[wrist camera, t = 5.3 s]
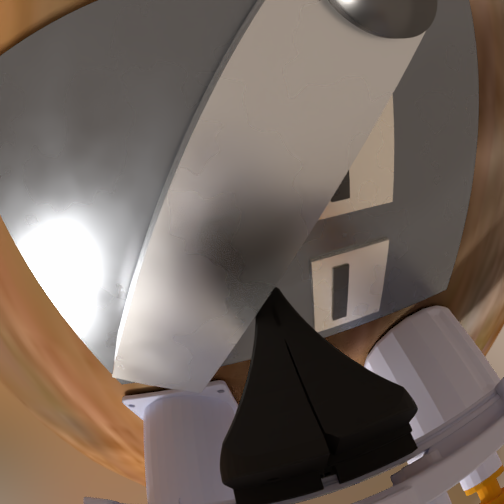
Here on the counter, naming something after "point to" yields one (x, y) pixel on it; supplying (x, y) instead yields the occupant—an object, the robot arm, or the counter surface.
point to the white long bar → (258, 175)
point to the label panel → (167, 145)
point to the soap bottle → (439, 381)
